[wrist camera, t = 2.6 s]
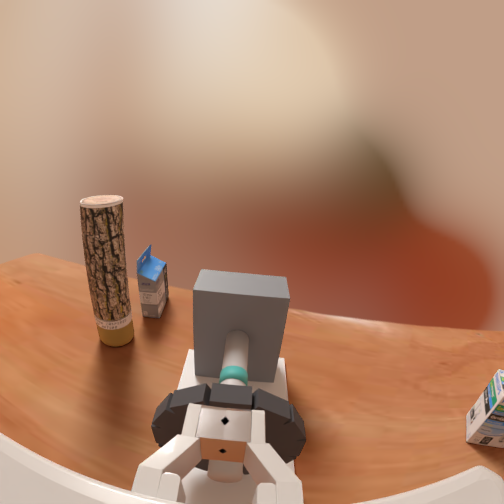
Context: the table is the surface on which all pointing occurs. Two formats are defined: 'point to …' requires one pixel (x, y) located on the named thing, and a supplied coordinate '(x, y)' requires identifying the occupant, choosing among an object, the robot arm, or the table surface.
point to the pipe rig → (234, 361)
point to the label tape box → (152, 284)
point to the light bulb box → (488, 415)
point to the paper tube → (107, 267)
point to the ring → (240, 397)
